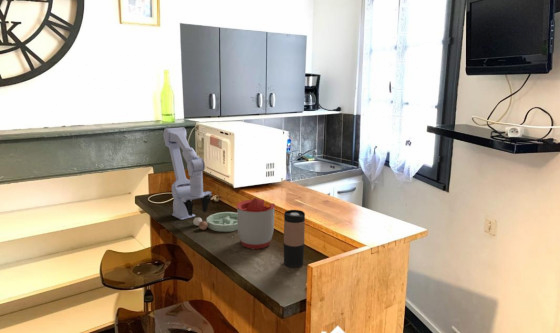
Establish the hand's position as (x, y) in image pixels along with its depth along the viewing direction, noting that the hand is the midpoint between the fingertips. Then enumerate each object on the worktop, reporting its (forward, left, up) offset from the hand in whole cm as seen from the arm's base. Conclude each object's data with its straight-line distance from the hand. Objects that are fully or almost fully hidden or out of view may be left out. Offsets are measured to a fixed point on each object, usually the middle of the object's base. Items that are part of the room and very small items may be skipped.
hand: (197, 213), depth 187 cm
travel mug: (+57, +5, -6) cm, 58 cm away
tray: (+8, +11, -6) cm, 14 cm away
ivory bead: (0, 0, -6) cm, 6 cm away
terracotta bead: (+6, -1, -6) cm, 8 cm away
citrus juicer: (+34, +7, -6) cm, 35 cm away
